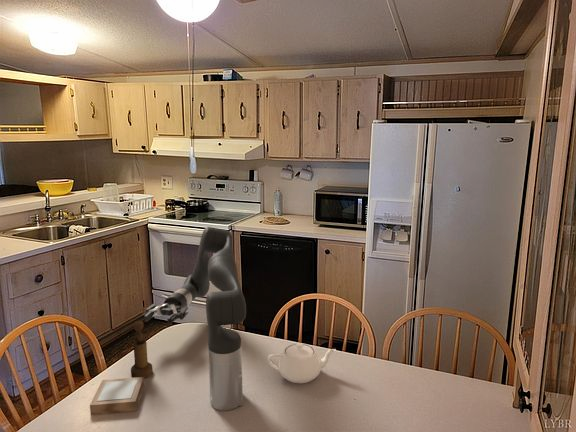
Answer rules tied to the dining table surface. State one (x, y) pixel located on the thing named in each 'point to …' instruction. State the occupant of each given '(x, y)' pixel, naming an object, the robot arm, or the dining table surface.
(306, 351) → the teapot
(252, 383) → the dining table surface
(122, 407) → the plinth
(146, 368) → the brown pepper mill
